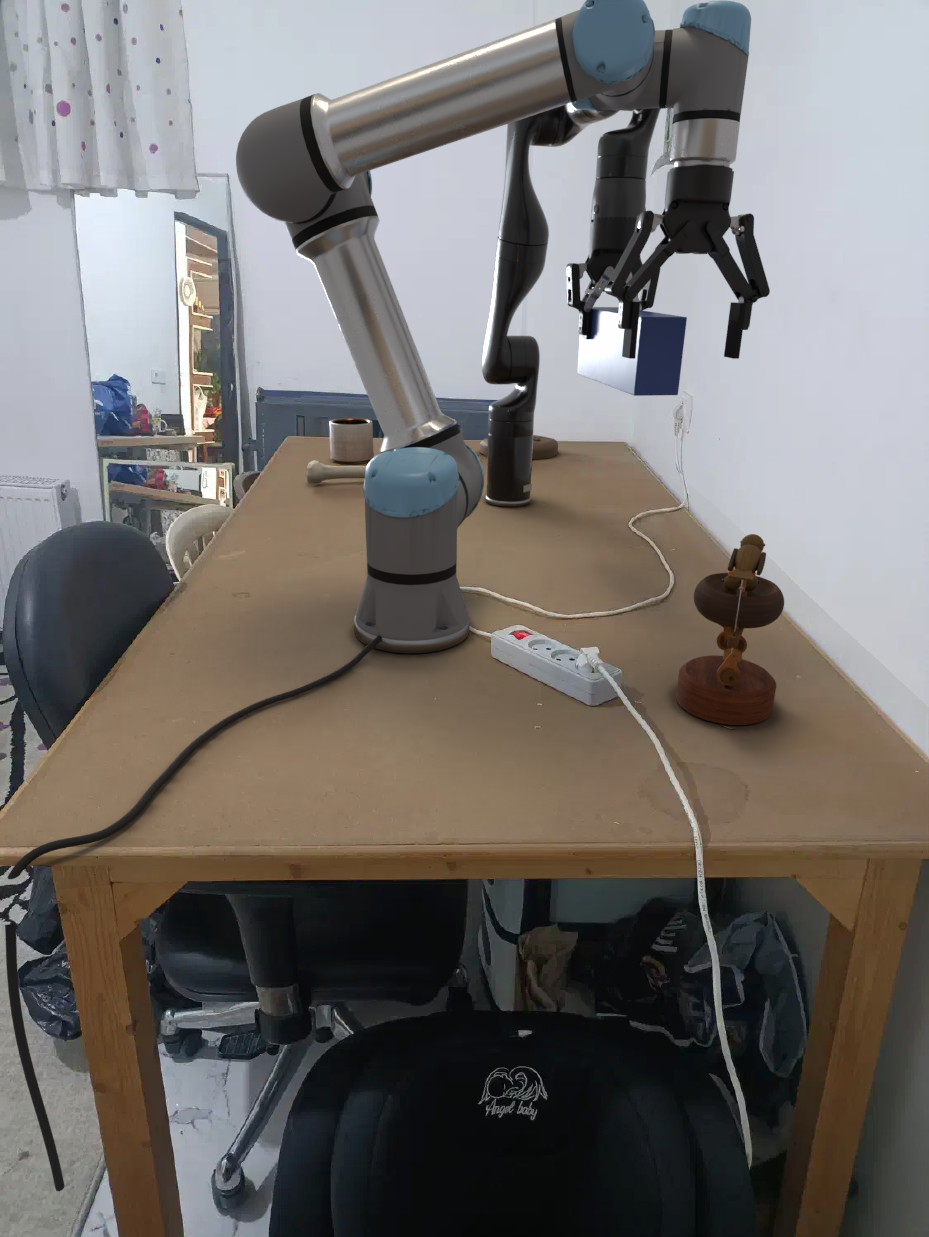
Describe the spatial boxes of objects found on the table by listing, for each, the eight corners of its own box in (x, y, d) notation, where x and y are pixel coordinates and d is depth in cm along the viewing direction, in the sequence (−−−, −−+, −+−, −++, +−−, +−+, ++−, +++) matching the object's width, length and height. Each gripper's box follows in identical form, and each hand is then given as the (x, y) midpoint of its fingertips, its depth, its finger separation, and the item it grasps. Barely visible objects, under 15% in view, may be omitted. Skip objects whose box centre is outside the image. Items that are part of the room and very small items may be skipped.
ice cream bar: (484, 468, 207) (485, 451, 205) (477, 446, 232) (478, 431, 231) (570, 469, 208) (571, 452, 206) (554, 447, 233) (554, 431, 232)
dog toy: (395, 478, 195) (394, 456, 193) (397, 484, 190) (397, 462, 188) (306, 480, 192) (305, 458, 190) (306, 486, 187) (305, 464, 185)
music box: (791, 736, 88) (807, 553, 81) (683, 736, 90) (689, 557, 82) (760, 672, 102) (771, 512, 95) (667, 673, 104) (671, 515, 96)
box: (678, 395, 112) (687, 317, 109) (634, 395, 111) (641, 316, 107) (614, 373, 133) (620, 307, 129) (576, 373, 132) (581, 306, 128)
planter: (327, 456, 217) (325, 418, 214) (369, 454, 220) (368, 417, 217) (334, 465, 208) (332, 425, 204) (377, 463, 211) (376, 424, 207)
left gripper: (784, 173, 103) (759, 355, 111) (587, 166, 99) (575, 354, 107) (817, 167, 96) (787, 360, 104) (607, 159, 93) (593, 360, 101)
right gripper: (654, 218, 125) (642, 337, 132) (561, 215, 122) (554, 336, 129) (676, 216, 118) (662, 341, 125) (578, 213, 115) (569, 341, 122)
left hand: (680, 358), depth 106 cm, fingers open, 13 cm apart
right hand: (607, 338), depth 127 cm, fingers closed on box, 6 cm apart
